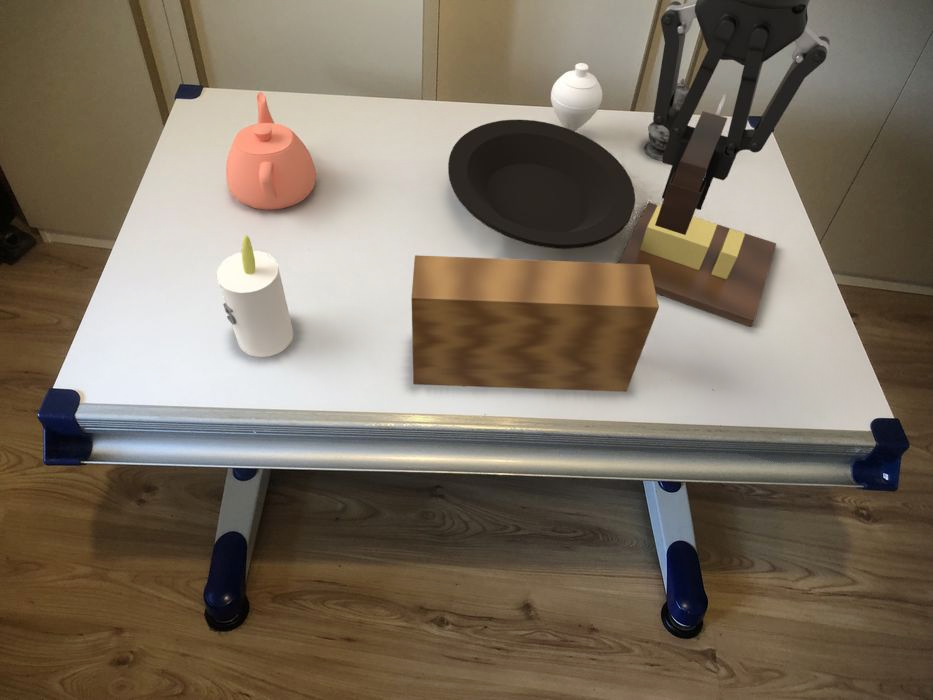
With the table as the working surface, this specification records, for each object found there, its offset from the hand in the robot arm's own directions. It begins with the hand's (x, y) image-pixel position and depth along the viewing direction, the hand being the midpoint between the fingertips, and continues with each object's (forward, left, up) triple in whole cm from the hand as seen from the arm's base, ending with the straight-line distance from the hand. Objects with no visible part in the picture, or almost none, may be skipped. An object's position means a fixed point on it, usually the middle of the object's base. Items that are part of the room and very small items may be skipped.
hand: (684, 195), depth 67 cm
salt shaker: (+38, +7, -21) cm, 44 cm away
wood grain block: (-12, +10, -20) cm, 26 cm away
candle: (-22, +38, -21) cm, 49 cm away
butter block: (+15, 0, -19) cm, 25 cm away
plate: (+15, +19, -21) cm, 32 cm away
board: (+15, -4, -20) cm, 26 cm away
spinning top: (+34, +21, -21) cm, 45 cm away
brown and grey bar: (+6, 0, -1) cm, 7 cm away
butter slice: (+15, -7, -19) cm, 26 cm away
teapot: (+2, +54, -21) cm, 58 cm away
